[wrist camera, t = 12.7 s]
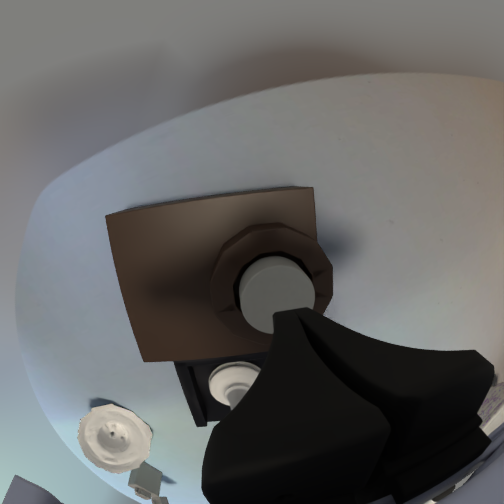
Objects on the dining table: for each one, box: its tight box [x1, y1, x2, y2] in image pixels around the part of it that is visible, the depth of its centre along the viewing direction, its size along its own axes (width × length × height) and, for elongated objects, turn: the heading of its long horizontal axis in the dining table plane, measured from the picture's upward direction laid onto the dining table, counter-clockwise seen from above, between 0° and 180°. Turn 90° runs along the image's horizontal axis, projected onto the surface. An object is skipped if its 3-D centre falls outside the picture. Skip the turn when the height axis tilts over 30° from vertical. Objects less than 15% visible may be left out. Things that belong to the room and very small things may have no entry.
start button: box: [239, 256, 315, 334], centre depth 14 cm, size 4×4×2 cm
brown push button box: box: [105, 186, 333, 362], centre depth 17 cm, size 10×12×6 cm
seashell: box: [77, 404, 153, 474], centre depth 21 cm, size 8×5×8 cm
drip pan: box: [173, 351, 269, 427], centre depth 21 cm, size 10×10×2 cm
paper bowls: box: [477, 382, 504, 436], centre depth 27 cm, size 15×15×8 cm
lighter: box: [128, 461, 169, 504], centre depth 22 cm, size 7×2×8 cm, turn 33°
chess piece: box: [209, 361, 261, 410], centre depth 17 cm, size 5×5×10 cm
